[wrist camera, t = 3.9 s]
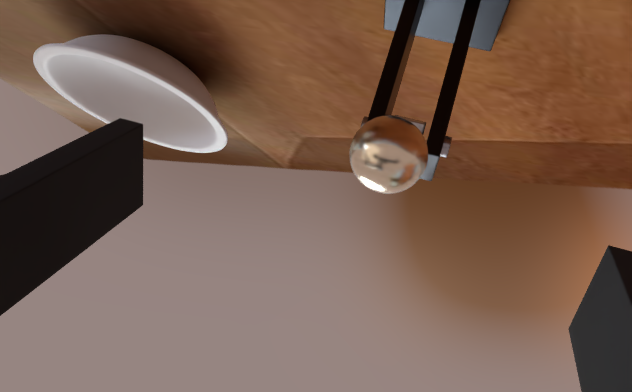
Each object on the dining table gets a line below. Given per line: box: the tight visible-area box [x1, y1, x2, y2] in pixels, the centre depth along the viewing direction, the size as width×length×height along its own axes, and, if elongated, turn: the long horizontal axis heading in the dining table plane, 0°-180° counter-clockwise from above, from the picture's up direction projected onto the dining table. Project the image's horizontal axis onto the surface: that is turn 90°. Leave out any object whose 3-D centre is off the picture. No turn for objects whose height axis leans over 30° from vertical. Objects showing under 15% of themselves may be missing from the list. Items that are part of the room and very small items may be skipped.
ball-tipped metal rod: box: [349, 115, 428, 194], centre depth 31 cm, size 15×4×4 cm, turn 5°
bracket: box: [361, 0, 510, 181], centre depth 38 cm, size 11×9×15 cm
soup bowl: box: [33, 34, 228, 153], centre depth 68 cm, size 24×24×7 cm
